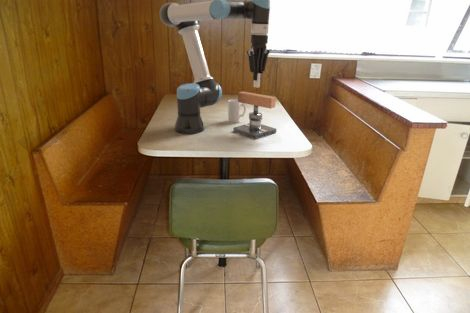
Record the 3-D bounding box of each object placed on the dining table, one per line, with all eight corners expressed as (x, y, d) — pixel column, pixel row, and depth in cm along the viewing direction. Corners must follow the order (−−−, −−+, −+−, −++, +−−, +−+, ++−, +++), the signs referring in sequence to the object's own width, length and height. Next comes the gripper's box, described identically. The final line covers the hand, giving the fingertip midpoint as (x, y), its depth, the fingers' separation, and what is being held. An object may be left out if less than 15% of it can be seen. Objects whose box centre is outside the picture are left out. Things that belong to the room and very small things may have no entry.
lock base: (233, 131, 179) (233, 118, 176) (254, 125, 189) (254, 113, 187) (255, 139, 168) (256, 125, 166) (276, 132, 179) (277, 119, 176)
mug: (227, 122, 193) (227, 101, 188) (228, 119, 199) (228, 99, 195) (245, 123, 193) (245, 102, 188) (245, 119, 199) (246, 99, 194)
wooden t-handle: (268, 123, 168) (270, 99, 163) (236, 116, 179) (236, 92, 174) (275, 120, 173) (277, 96, 168) (243, 113, 184) (244, 90, 179)
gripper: (255, 35, 145) (252, 90, 154) (275, 34, 153) (271, 86, 162) (243, 33, 149) (241, 87, 159) (263, 33, 158) (259, 84, 167)
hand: (256, 87), depth 160 cm, fingers closed
